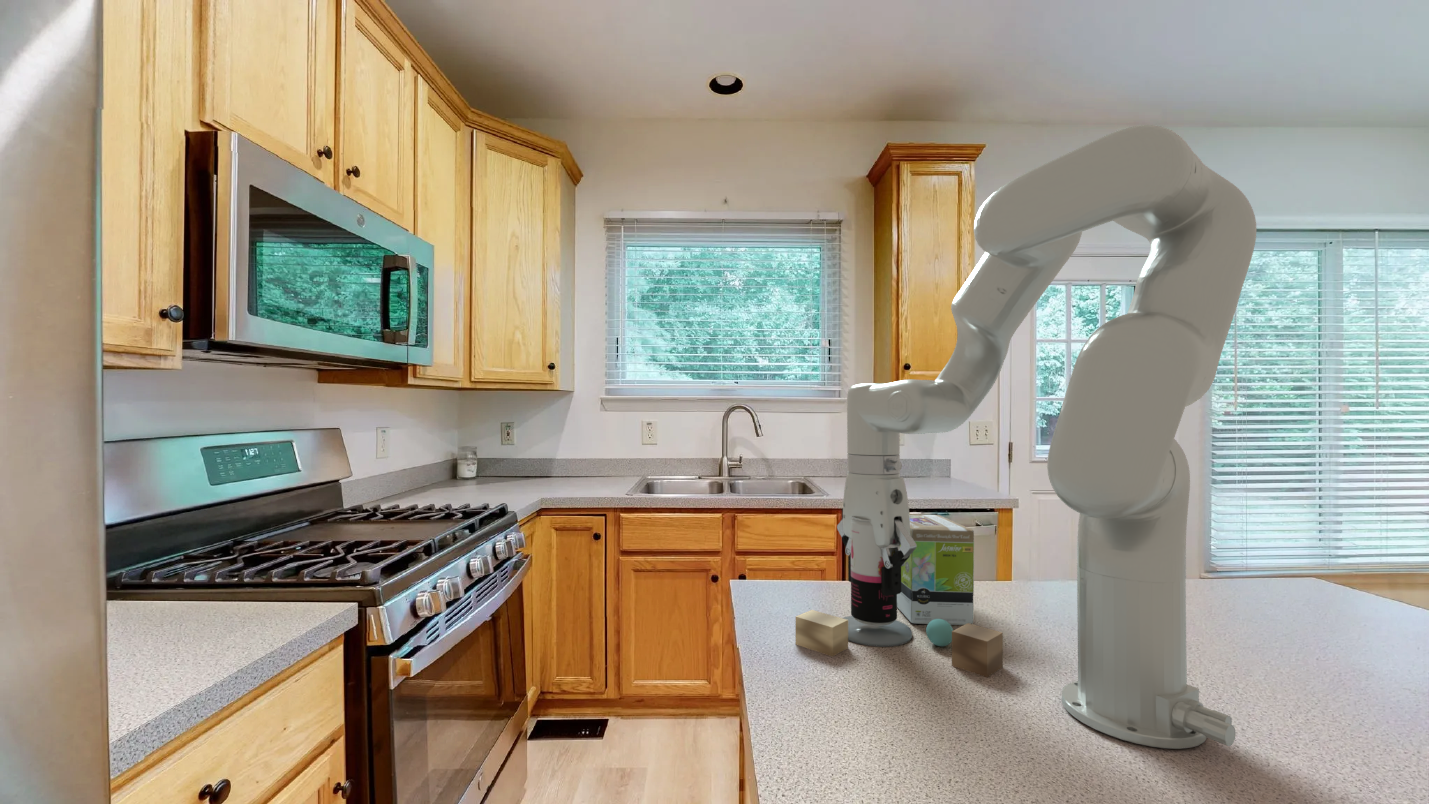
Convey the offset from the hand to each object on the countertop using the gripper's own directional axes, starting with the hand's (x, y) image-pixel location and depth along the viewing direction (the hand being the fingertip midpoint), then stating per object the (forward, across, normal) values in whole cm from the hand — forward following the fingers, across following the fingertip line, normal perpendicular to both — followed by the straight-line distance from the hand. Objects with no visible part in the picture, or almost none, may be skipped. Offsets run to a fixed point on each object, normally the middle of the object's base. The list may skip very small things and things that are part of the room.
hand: (873, 586), depth 87 cm
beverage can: (+5, 0, 0) cm, 5 cm away
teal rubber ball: (+5, -8, -5) cm, 10 cm away
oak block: (+7, -1, +10) cm, 12 cm away
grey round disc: (+7, 0, 0) cm, 7 cm away
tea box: (+7, +4, -15) cm, 17 cm away
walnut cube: (+7, -15, -4) cm, 17 cm away
